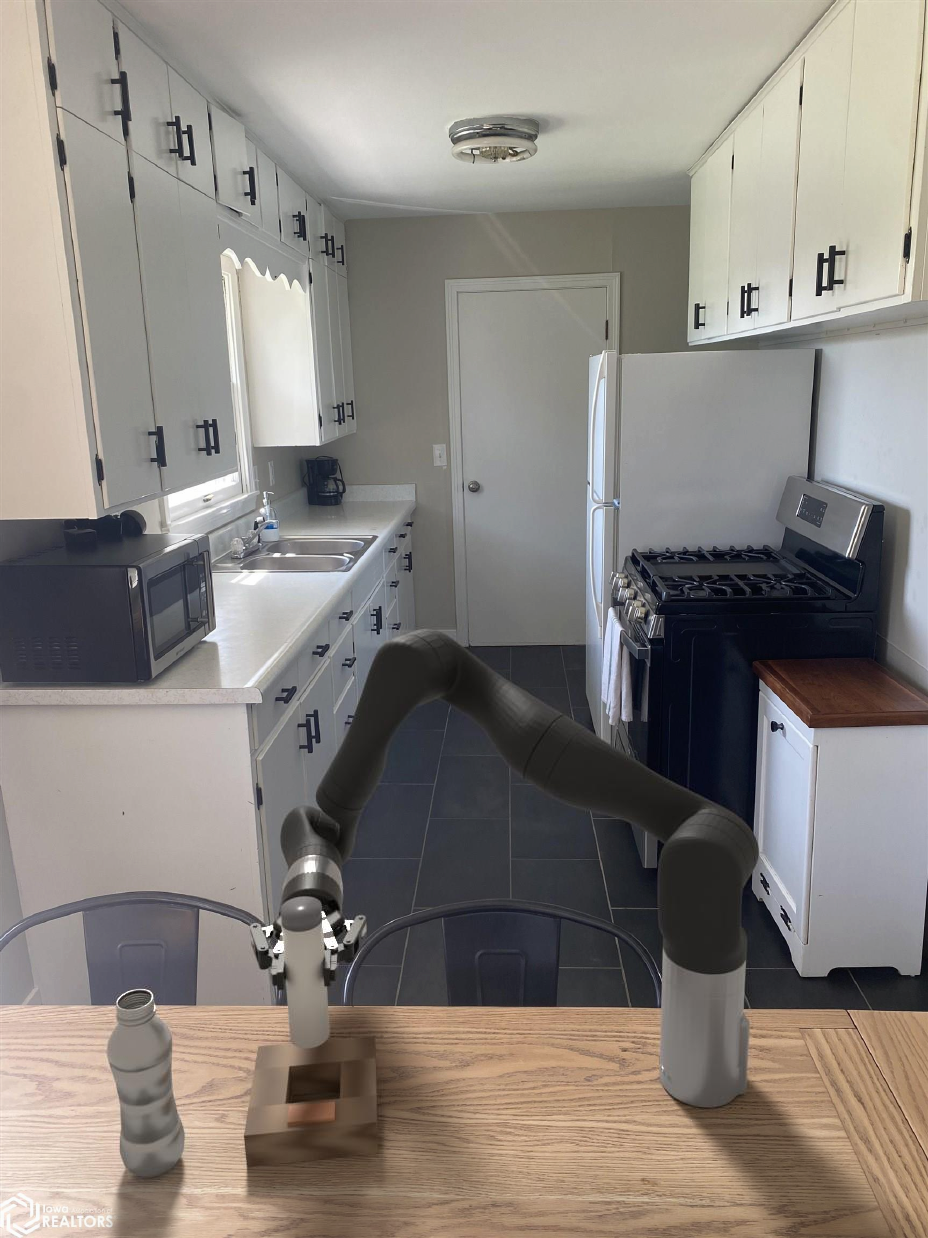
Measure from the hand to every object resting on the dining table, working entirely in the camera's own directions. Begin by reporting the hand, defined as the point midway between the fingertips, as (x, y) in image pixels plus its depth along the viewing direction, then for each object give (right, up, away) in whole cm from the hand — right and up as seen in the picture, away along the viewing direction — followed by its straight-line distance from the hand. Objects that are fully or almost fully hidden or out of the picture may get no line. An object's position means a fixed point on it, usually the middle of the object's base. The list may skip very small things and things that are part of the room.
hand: (303, 980), depth 99 cm
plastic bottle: (-16, -20, +1) cm, 26 cm away
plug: (0, -8, +5) cm, 9 cm away
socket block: (0, -18, +7) cm, 19 cm away
